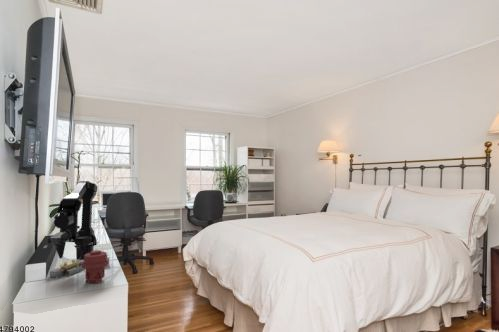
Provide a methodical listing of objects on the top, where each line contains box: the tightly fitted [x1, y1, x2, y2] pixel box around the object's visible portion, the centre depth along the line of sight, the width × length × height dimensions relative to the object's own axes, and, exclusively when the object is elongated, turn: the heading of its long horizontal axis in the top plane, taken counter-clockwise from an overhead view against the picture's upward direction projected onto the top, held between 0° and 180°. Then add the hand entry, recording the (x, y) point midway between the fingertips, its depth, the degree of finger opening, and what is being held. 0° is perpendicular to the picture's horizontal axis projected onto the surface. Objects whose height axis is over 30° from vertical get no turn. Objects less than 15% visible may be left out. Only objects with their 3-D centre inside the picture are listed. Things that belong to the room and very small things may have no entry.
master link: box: [59, 259, 80, 275], centre depth 131 cm, size 7×4×5 cm, turn 168°
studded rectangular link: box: [49, 259, 85, 279], centre depth 130 cm, size 16×9×3 cm, turn 168°
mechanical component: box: [81, 249, 110, 284], centre depth 119 cm, size 12×10×10 cm
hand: (69, 258), depth 130 cm, fingers open, 9 cm apart
